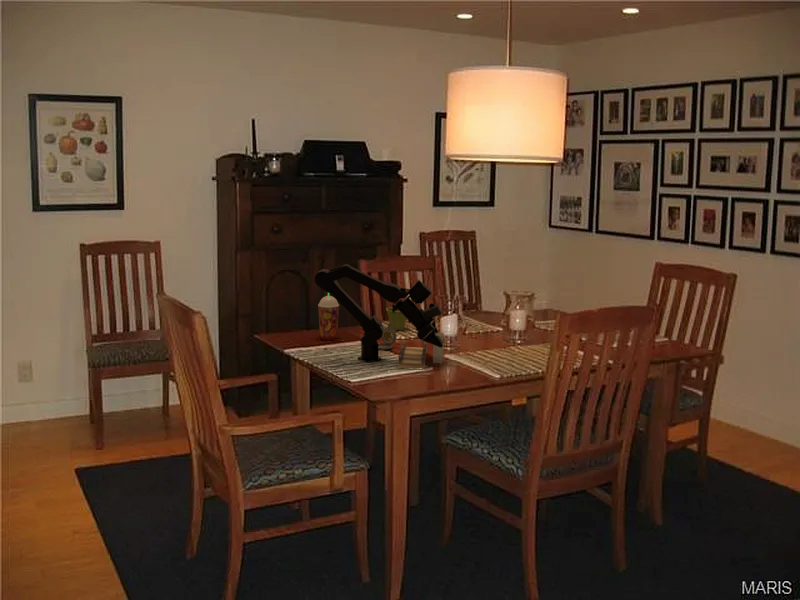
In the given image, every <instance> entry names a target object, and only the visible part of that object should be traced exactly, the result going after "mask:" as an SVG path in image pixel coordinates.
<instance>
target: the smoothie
mask: <svg viewBox="0 0 800 600" xmlns="http://www.w3.org/2000/svg"><path fill="white" fill-rule="evenodd" d="M317 306H318V309H317V311H318V323H319V324H318V325H319V326H318V327H319V336H320V337H321V340H324V341H334V340H336V339H337V337H338V329H339V314H340V313H339V311H340V303H339V301H338V300H337V299H336V298H335V297H334V296H333V295H330V293H328V292H327V295H325V296H323V297H322V298H321V299H320V301H319V303H318V304H317Z"/></svg>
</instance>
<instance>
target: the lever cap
mask: <svg viewBox="0 0 800 600" xmlns="http://www.w3.org/2000/svg"><path fill="white" fill-rule="evenodd" d="M444 333H445V332H439V333H435V334H436V336H437V337H438V339H439V340H440V342H441V343H442V345H443V346H442V347H441V348H440V347H438V346H435V345H433V344H432V346H433V347H432V364H443V363H444V344H446V343H447V342H446V338H447V337H446V336H445V335H444Z"/></svg>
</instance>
